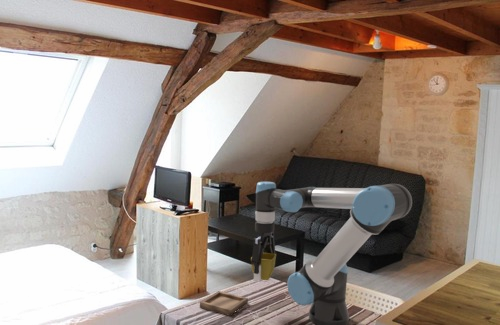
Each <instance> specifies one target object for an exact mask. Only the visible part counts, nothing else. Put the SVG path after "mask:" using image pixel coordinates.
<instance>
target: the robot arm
mask: <svg viewBox="0 0 500 325" xmlns="http://www.w3.org/2000/svg"><path fill="white" fill-rule="evenodd" d="M412 207H413V198H412V195H411V192H410V191H409V190H408V189H407V188H406V186H404V185H401V184H398V183H388V184H380V185H370V186H368V187H365V188H364V187H360V188H359V187H357V188H356V187H351V188H350V187H316V186H307V187H300V188H294V189H280V188H277V184H276V183H275V182H273V181H258V182H257V184H256V189H255V212H254V215H255V223H254V231H255V232H256V233H258V234H257V238H256V237H254V238H253V247H252V254H251V257H252V260H251V259H250V265H251V264H253V265H254V275H253V282H258V283H261V281H262V280H261V265H260V263H261V259H262V255H263V253H264V250H265V253H271V254H276V244H275V243H276V242H275V232H274V231H275V219H276V217H275V215H276V214H275V213H276V210H280V211H285V212H287V213H290V212H291V213H297V212H298V211H299V210H300V209H303V208H324V209H343V210H344V209H345V210H350V211H349V213H350V217H349V219H348V220H347V221H346V222H345V223H344V224H343V226H342V227H341V228H340V229H339V230H338V231H337V233H336V234H335V235H334V236H333V238H331V240H330V241H329V242H328V243H327V245H326V246H325V247H324V248H323V249H322V250H321V252H320V253H319V254H318V255H317V256H316V258H315V259H309V260H307V262H305V264H304V265H303V266H302V267H301V268H300V269H299V270H298V271H295V272H293V273H292V274H290V275H289V277H288V279H287V282H286V283H287V284H286V286H287V291H288V294H289V296H290V297H291V299H292V300H293V302H294V303H296V304H298V305H300V306H303V307H304V306H309V305H310V307H309V310H308V318H309V321H310V322H311V323H313V324H315V325H348V324H349V322H350V314H349V309H348V306H347V302H346V296H347V295H346V294H347V284H348V283H347V281H348V274H349V273H348V266H347V263H348V262H349V260H350V259H351V258H352V257H353V256H354V255H355V254H356V253H357V252H358V251H359V249H361V247H362V246H363V245H364V244H365V243H366V242H367V240H368V239H369V238H370V237H371V236H372V235H373V236H374V235H379V234H380V233H382V231H383V230H385V228H386V227H387V226H388V225H389V224H390V223H391V222H392V221H396V220H399V219H402V218H404V217H406V216H407V215H408V214H409V212H410V211H411V209H412ZM272 275H273V273H272V274H271V276H272Z"/></svg>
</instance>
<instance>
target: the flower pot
mask: <svg viewBox="0 0 500 325" xmlns="http://www.w3.org/2000/svg"><path fill="white" fill-rule="evenodd" d="M276 259H277V253H275V254H271V253H266V252H263V255H262V259H261V263H260V265H261V281H269V280H270V279H271V277H272V275H273V272H274V271H275V270H274V269H275V266H276ZM251 260H252V256H251V257H250V261H251ZM250 265H251V271H252V275H253V276H254V265H253V264H251V263H250ZM271 274H272V275H271Z"/></svg>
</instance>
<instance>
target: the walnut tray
mask: <svg viewBox="0 0 500 325" xmlns="http://www.w3.org/2000/svg"><path fill="white" fill-rule="evenodd" d="M247 303H249V298H248V297H244V296H240V295H235V294H232V293H229V292H223V291H221V290H220V291H219V290H218V291H216V292H215V293H212V294H211V295H210V296H208V297H206V298H204V299H203V300H201V301H200V302H199V308H201V309H204V310H208V311H211V312H215V311H216V312H215V313H218V312H219V314H222V313H223V314H222V315H226V314H228V315H227V316H229V315H231V314H232V315H234V314H235V313H236V312H238V311H239V310H241V309H242V308H243V307H245V306H246V305H247ZM244 305H245V306H244ZM240 308H241V309H240ZM238 309H239V310H238ZM237 310H238V311H237ZM235 311H236V312H235ZM234 312H235V313H234ZM233 313H234V314H233ZM232 315H231V316H232Z"/></svg>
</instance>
